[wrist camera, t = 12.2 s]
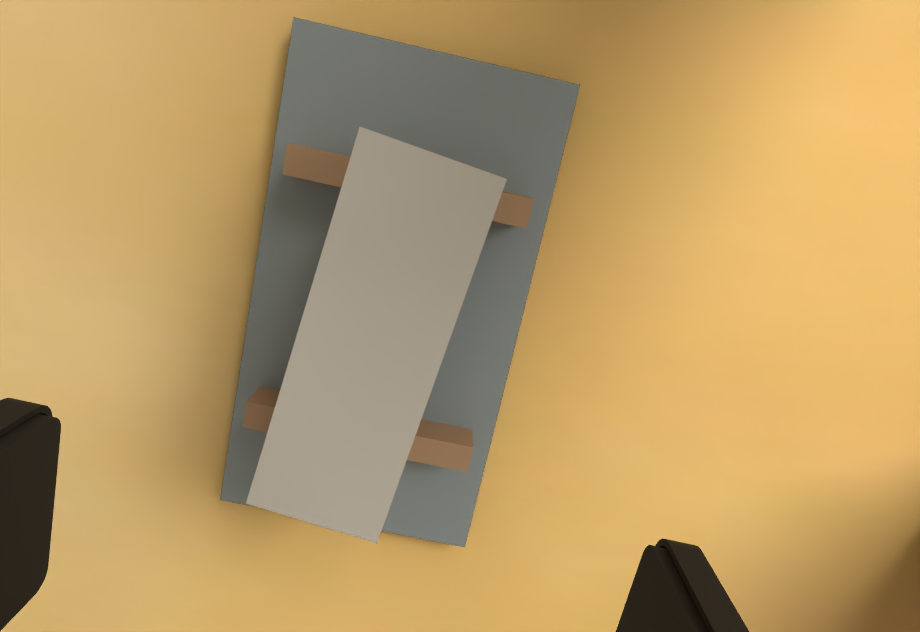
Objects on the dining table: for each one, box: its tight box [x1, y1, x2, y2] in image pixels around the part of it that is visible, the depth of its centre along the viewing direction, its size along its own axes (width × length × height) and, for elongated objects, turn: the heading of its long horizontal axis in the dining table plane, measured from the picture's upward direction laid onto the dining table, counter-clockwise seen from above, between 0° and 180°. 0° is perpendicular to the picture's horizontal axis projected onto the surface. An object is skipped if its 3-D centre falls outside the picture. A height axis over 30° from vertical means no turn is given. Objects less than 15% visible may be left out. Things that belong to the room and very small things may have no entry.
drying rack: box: [220, 17, 580, 547], centre depth 29 cm, size 22×12×3 cm, turn 168°
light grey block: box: [246, 127, 507, 543], centre depth 25 cm, size 14×5×5 cm, turn 161°
